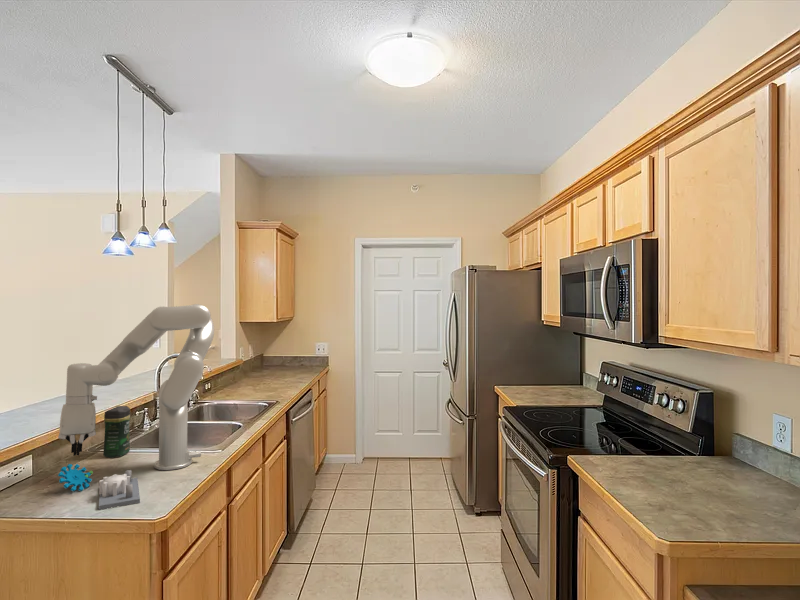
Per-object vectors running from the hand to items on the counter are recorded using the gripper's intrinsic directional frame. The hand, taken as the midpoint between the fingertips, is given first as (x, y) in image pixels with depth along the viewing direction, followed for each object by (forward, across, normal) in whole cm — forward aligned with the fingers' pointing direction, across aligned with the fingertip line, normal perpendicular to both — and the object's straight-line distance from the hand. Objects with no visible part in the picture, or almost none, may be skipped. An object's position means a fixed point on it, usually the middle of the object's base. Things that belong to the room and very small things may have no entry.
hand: (76, 454), depth 167 cm
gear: (+8, -1, +11) cm, 14 cm away
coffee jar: (+8, -12, -22) cm, 27 cm away
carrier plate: (+8, -13, +23) cm, 27 cm away
